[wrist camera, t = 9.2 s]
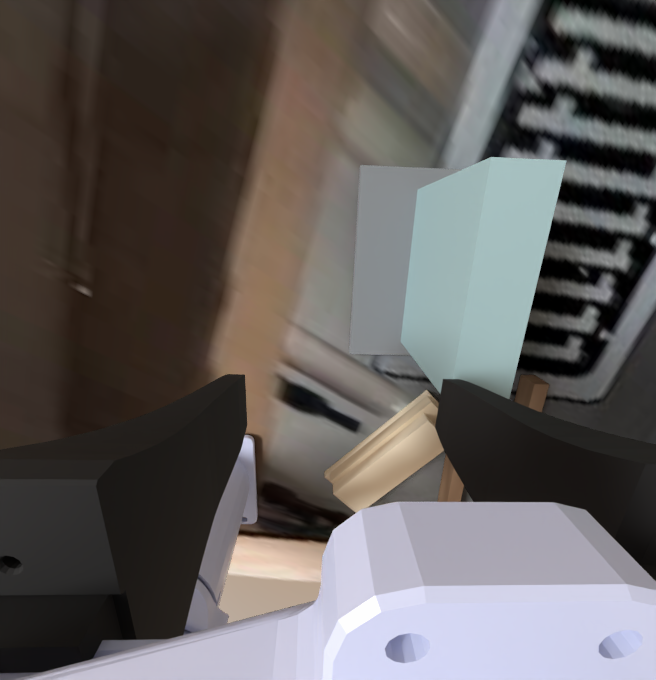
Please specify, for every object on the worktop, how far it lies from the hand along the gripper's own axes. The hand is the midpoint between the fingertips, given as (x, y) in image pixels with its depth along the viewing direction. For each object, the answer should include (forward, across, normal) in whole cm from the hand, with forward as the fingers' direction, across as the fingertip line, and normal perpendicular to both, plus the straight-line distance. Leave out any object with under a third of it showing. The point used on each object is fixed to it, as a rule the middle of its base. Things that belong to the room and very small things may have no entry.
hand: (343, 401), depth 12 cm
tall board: (+9, -6, -4) cm, 12 cm away
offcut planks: (+10, -4, +9) cm, 14 cm away
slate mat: (+10, -6, -4) cm, 12 cm away
